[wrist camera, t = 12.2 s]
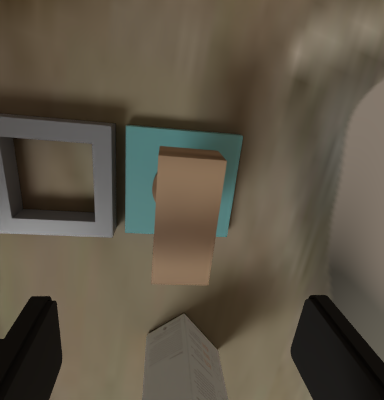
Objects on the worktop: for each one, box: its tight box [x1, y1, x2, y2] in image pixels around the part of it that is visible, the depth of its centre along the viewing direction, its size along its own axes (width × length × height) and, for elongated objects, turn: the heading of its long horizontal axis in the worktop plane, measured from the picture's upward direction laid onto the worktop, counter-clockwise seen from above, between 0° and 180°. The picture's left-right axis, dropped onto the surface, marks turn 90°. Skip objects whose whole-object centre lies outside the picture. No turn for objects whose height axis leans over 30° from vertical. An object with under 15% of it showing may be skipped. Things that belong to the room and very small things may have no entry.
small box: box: [142, 314, 228, 400], centre depth 28 cm, size 8×6×10 cm
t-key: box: [151, 146, 227, 285], centre depth 21 cm, size 9×5×8 cm, turn 174°
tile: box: [125, 125, 243, 237], centre depth 25 cm, size 10×10×1 cm
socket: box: [0, 113, 116, 237], centre depth 23 cm, size 10×10×2 cm
